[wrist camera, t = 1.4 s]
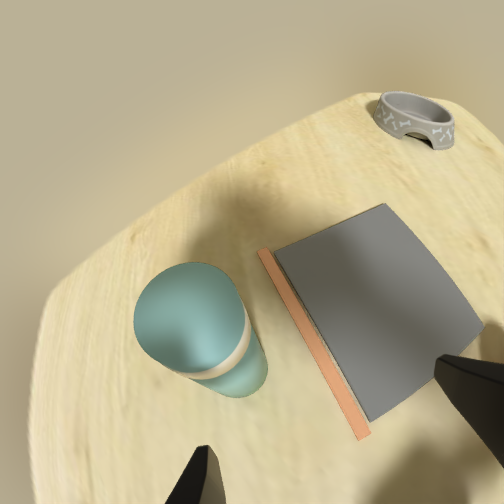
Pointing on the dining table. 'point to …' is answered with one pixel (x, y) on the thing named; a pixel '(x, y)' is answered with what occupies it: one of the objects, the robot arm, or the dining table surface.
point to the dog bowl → (415, 118)
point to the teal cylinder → (200, 329)
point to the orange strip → (316, 347)
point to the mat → (380, 305)
